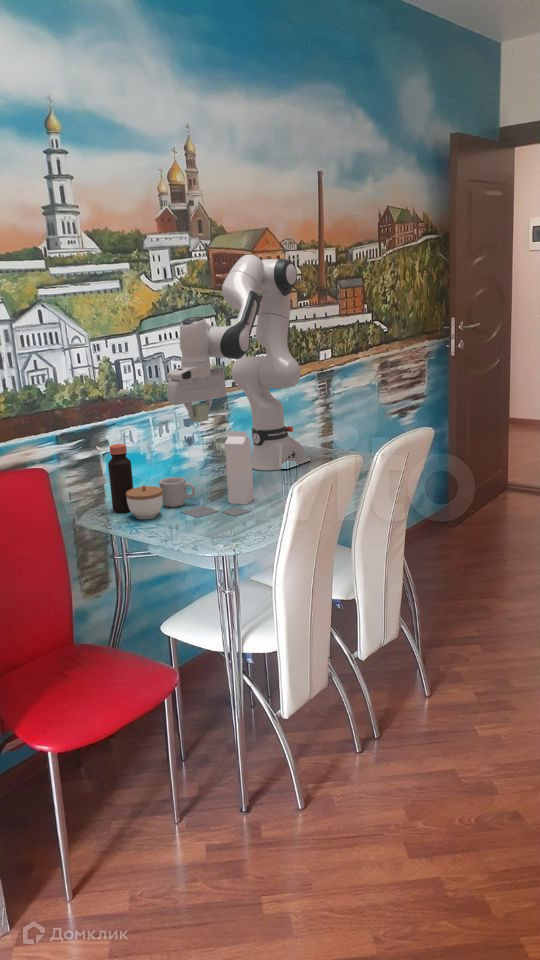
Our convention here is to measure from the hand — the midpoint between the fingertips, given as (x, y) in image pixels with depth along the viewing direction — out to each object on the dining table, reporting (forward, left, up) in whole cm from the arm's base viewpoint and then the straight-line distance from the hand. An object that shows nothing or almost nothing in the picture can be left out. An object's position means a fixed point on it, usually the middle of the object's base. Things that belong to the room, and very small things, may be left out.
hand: (199, 415), depth 259 cm
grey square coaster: (+6, +23, -26) cm, 35 cm away
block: (0, 0, -2) cm, 2 cm away
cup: (+13, +4, -26) cm, 29 cm away
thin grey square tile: (+13, +15, -26) cm, 32 cm away
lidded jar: (+26, +6, -26) cm, 37 cm away
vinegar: (+27, -5, -26) cm, 37 cm away
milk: (-2, +16, -26) cm, 30 cm away
